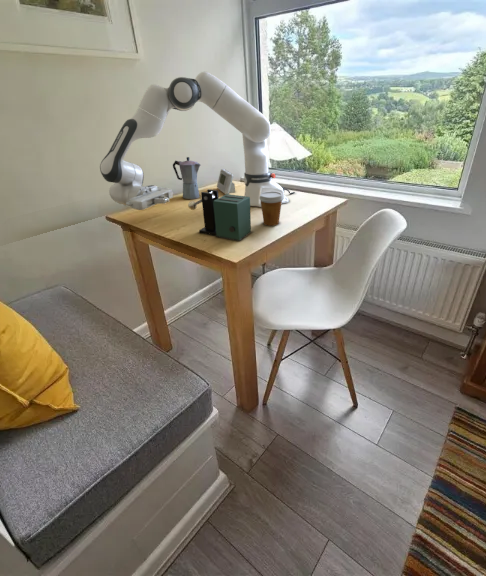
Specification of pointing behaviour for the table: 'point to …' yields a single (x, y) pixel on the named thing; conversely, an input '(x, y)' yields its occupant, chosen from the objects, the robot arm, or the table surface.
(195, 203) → the lever
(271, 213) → the disposable coffee cup
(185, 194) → the moka pot
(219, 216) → the toaster
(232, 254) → the table surface
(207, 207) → the lever bracket
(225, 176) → the digital clock
